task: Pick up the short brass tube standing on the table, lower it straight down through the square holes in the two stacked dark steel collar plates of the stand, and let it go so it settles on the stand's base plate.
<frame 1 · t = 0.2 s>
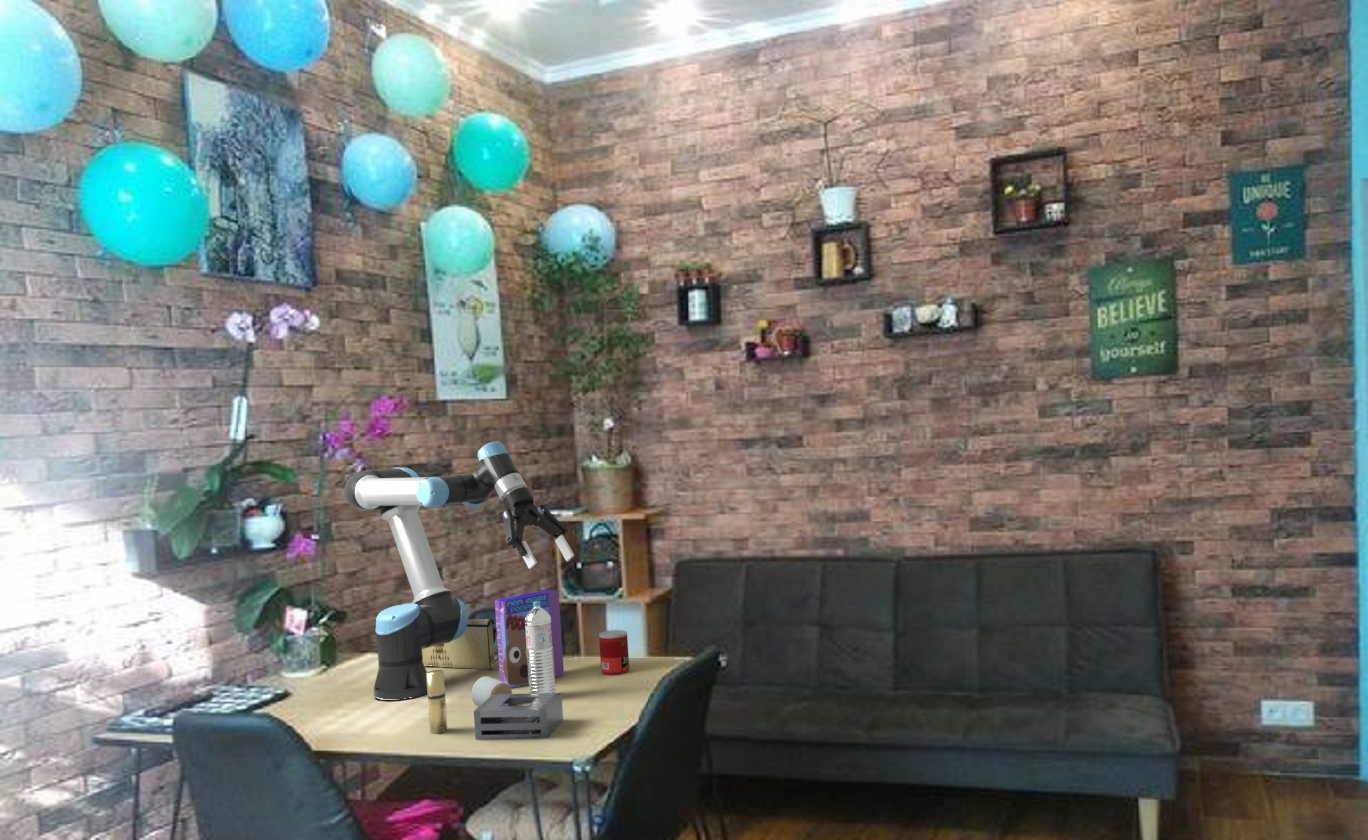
hand: (552, 562, 246), 36 cm above the table, tool tilted 35°, fingers open, 13 cm apart
collar stand: (520, 729, 225), on the table
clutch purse: (459, 667, 291), on the table
canned food: (615, 672, 272), on the table
water bottle: (542, 698, 251), on the table
ceramic mug: (497, 708, 245), on the table
brass tube: (438, 731, 228), on the table
cereal box: (532, 681, 268), on the table
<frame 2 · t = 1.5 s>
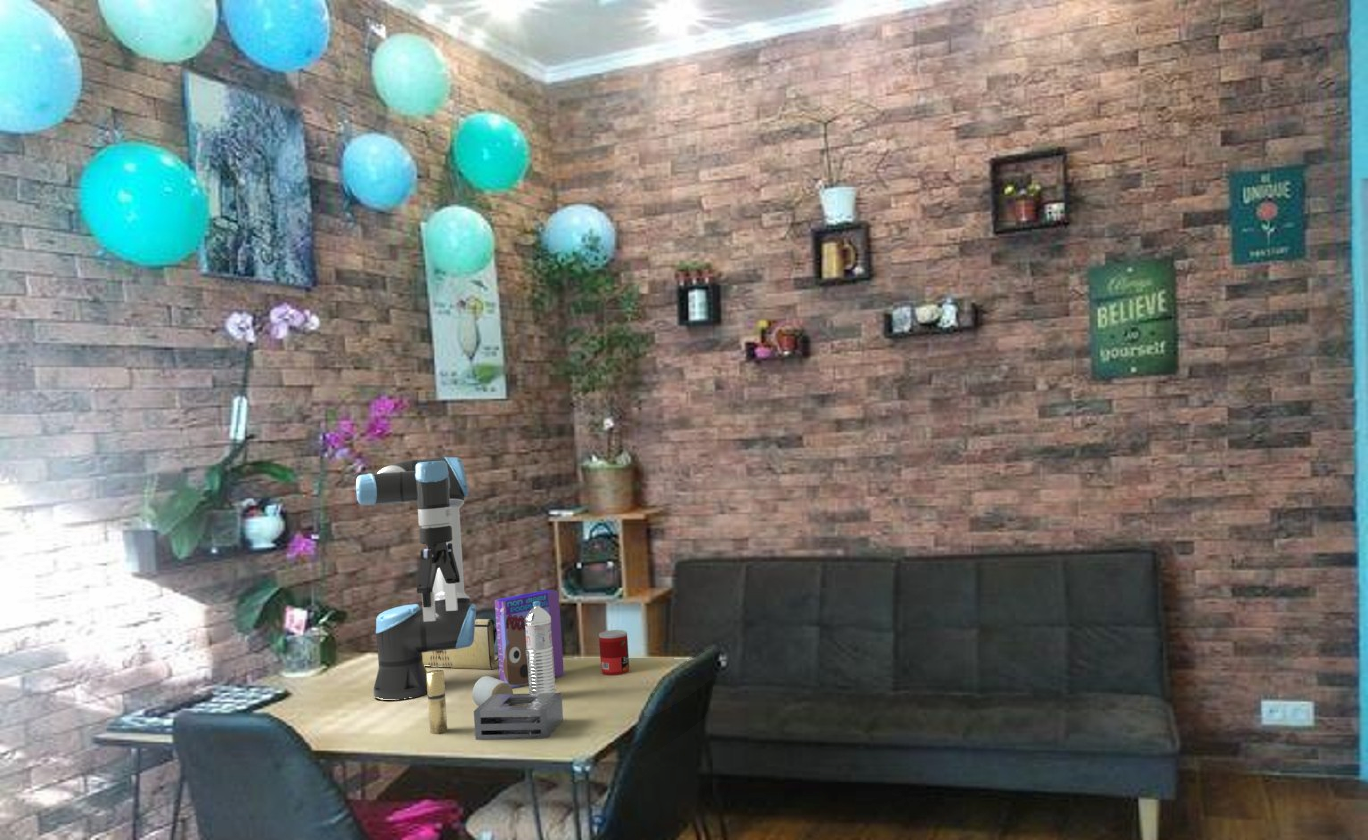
hand: (441, 615, 229), 27 cm above the table, tool pointing down, fingers open, 13 cm apart
nothing on the table moved.
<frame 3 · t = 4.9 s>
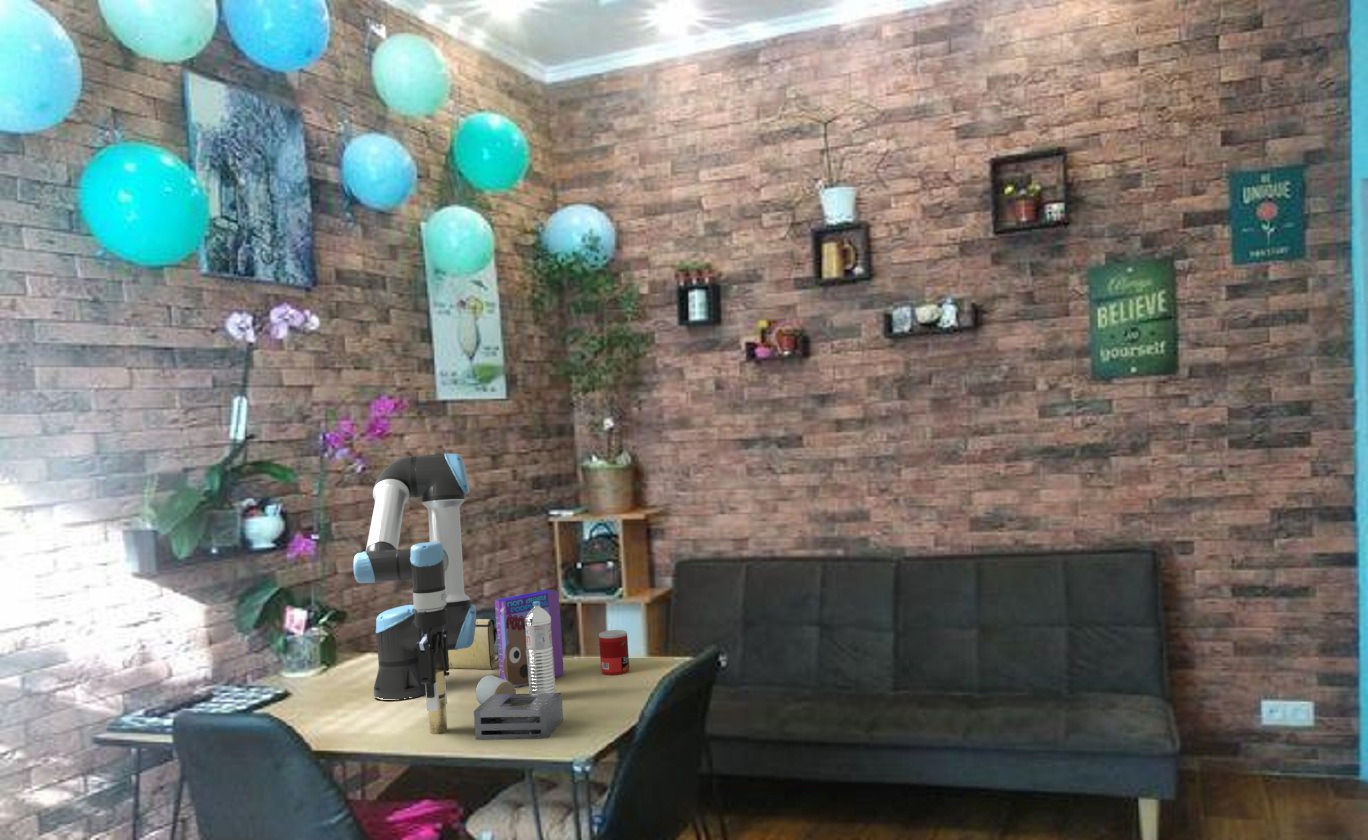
hand: (437, 707, 228), 6 cm above the table, tool pointing down, fingers closed on brass tube, 4 cm apart
brass tube: (438, 731, 228), on the table, touching gripper
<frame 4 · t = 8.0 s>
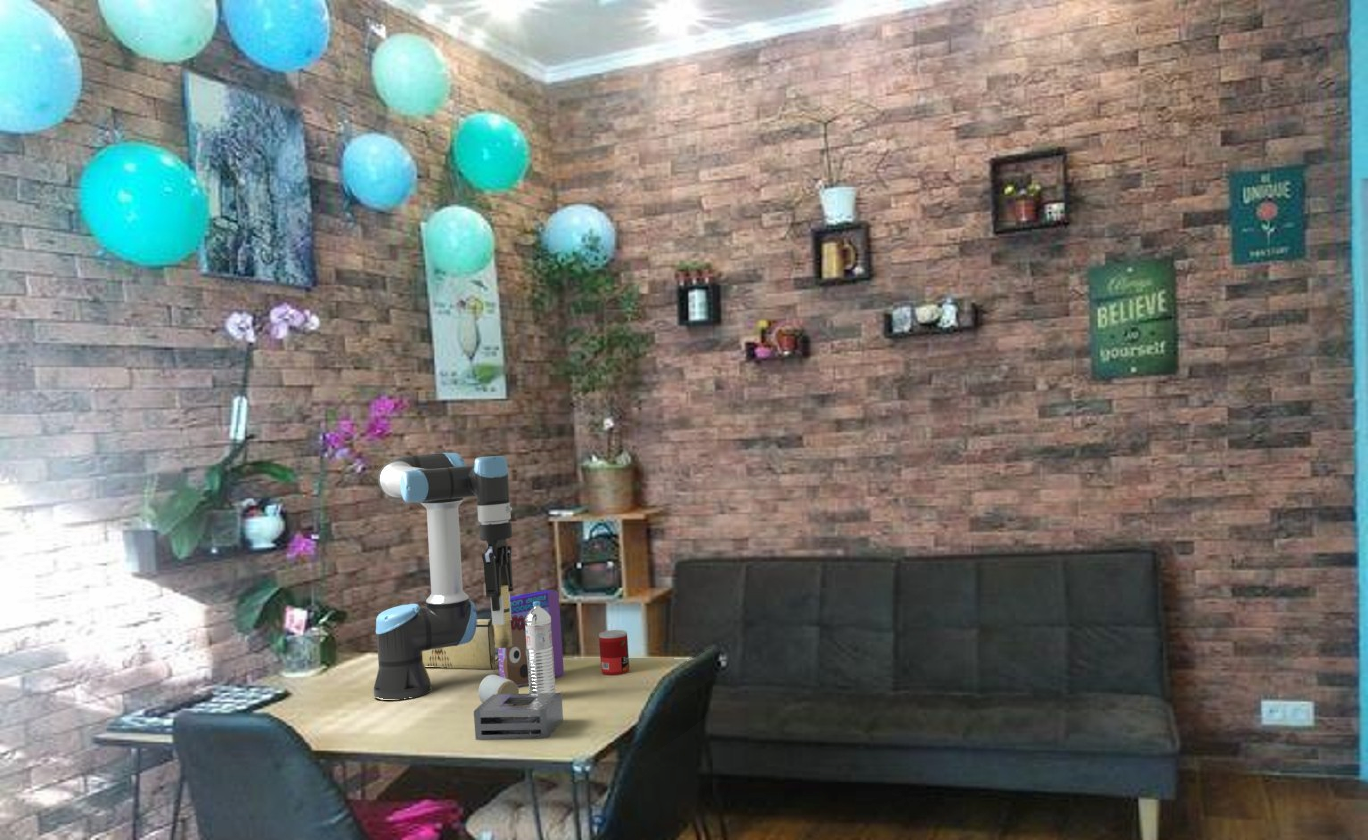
hand: (502, 622, 225), 25 cm above the table, tool pointing down, fingers closed on brass tube, 4 cm apart
brass tube: (503, 646, 225), point 20 cm above the table, touching gripper
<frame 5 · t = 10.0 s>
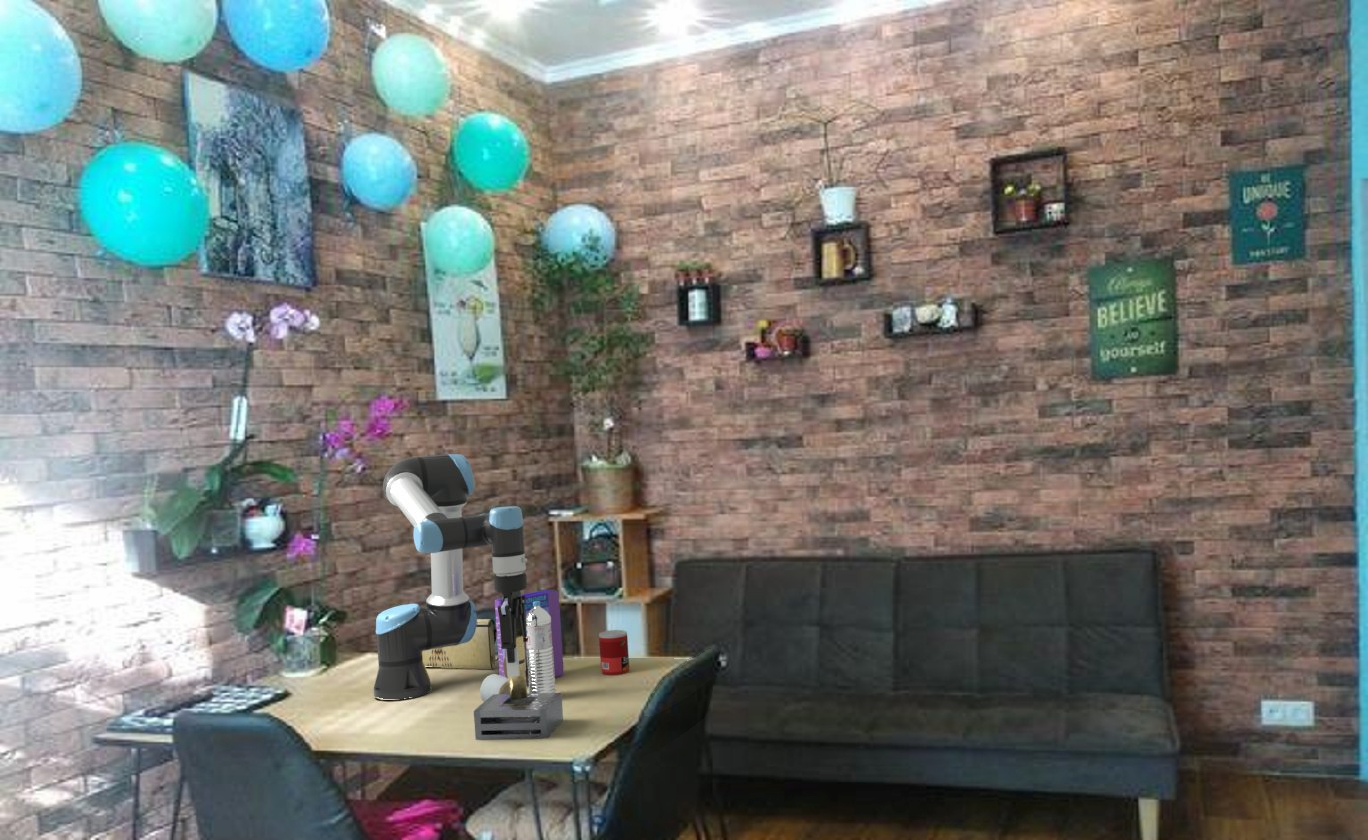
hand: (516, 673, 225), 13 cm above the table, tool pointing down, fingers closed on brass tube, 4 cm apart
brass tube: (518, 697, 225), point 8 cm above the table, touching gripper
when the fingers open (9 cm above the table, at t = 11.5 s): brass tube drops 2 cm, resting on collar stand.
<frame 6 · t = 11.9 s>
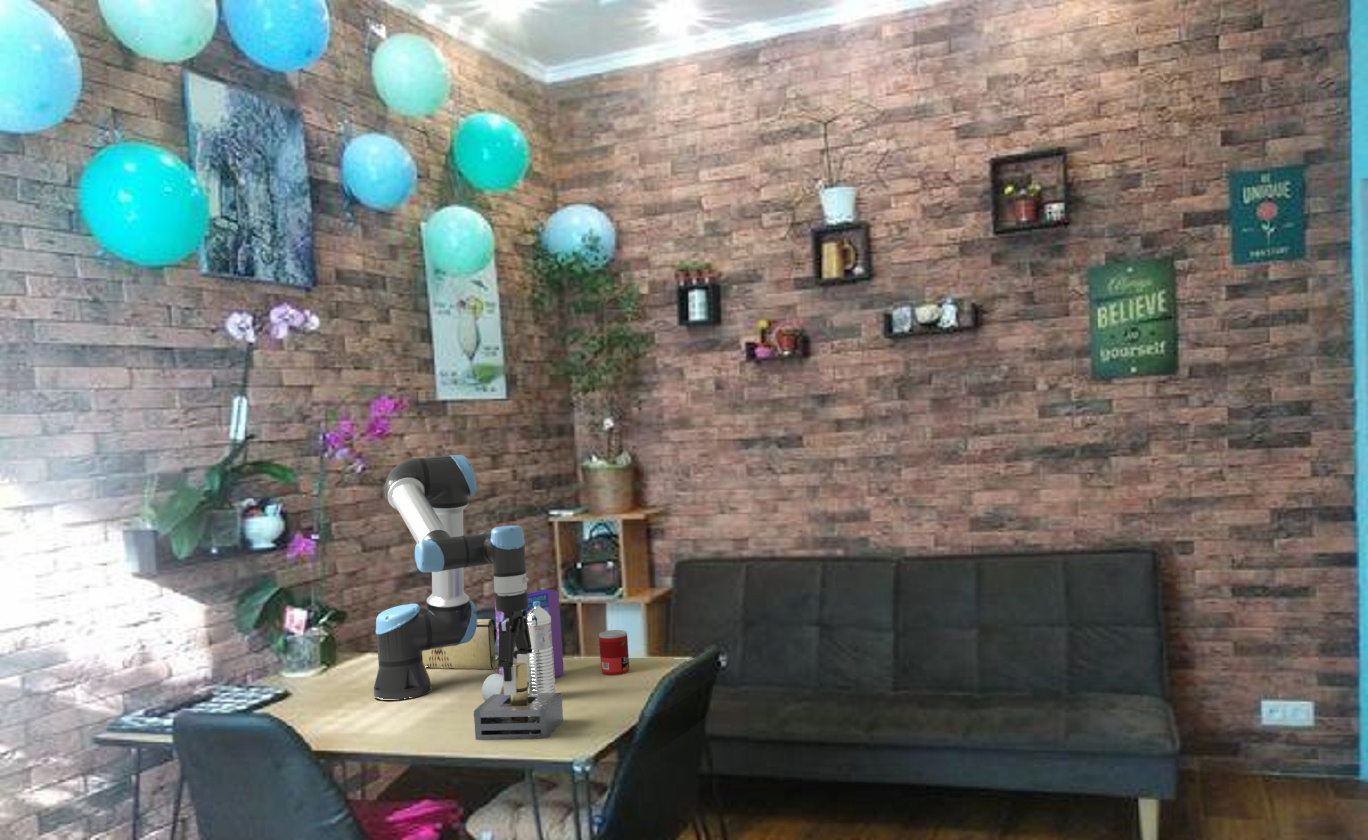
hand: (517, 687, 225), 10 cm above the table, tool pointing down, fingers open, 10 cm apart
brass tube: (520, 724, 225), point 1 cm above the table, touching collar stand
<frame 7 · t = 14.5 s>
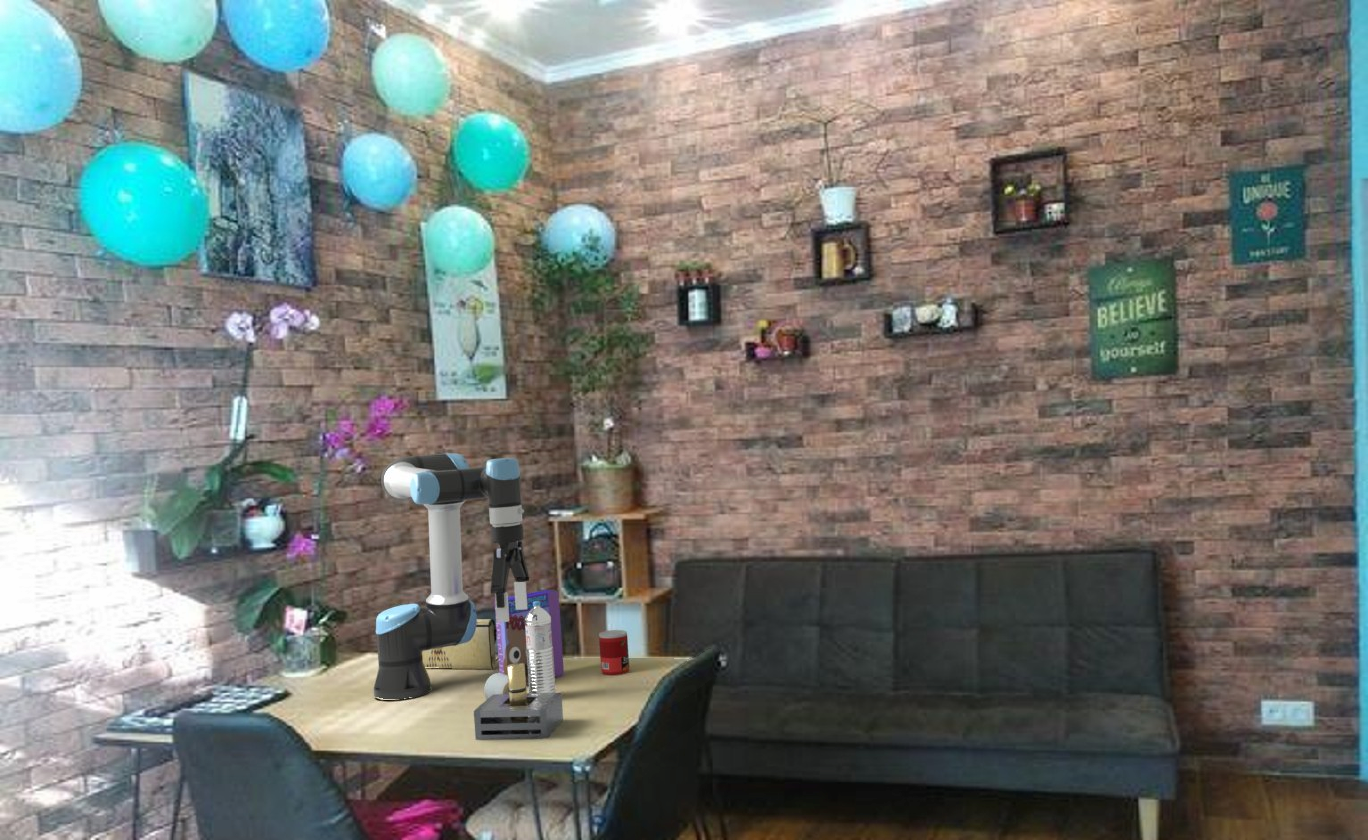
hand: (512, 615, 226), 27 cm above the table, tool pointing down, fingers open, 13 cm apart
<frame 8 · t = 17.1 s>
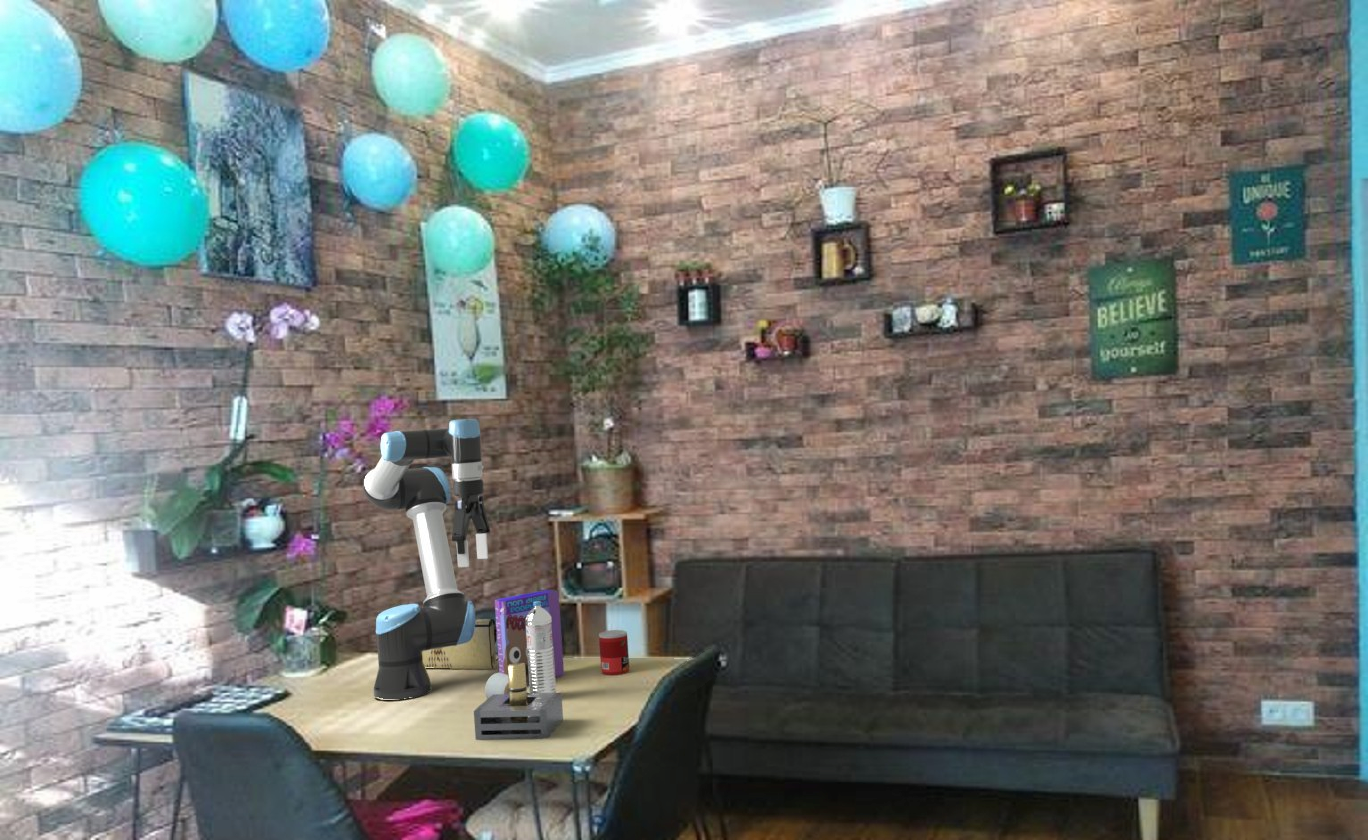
hand: (473, 562, 247), 37 cm above the table, tool pointing down, fingers open, 13 cm apart
at the end: brass tube 0.0 cm off-centre on the collar stand, point 1.0 cm above the collar stand's base; brass tube tilted 1°; the gripper is holding nothing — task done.
